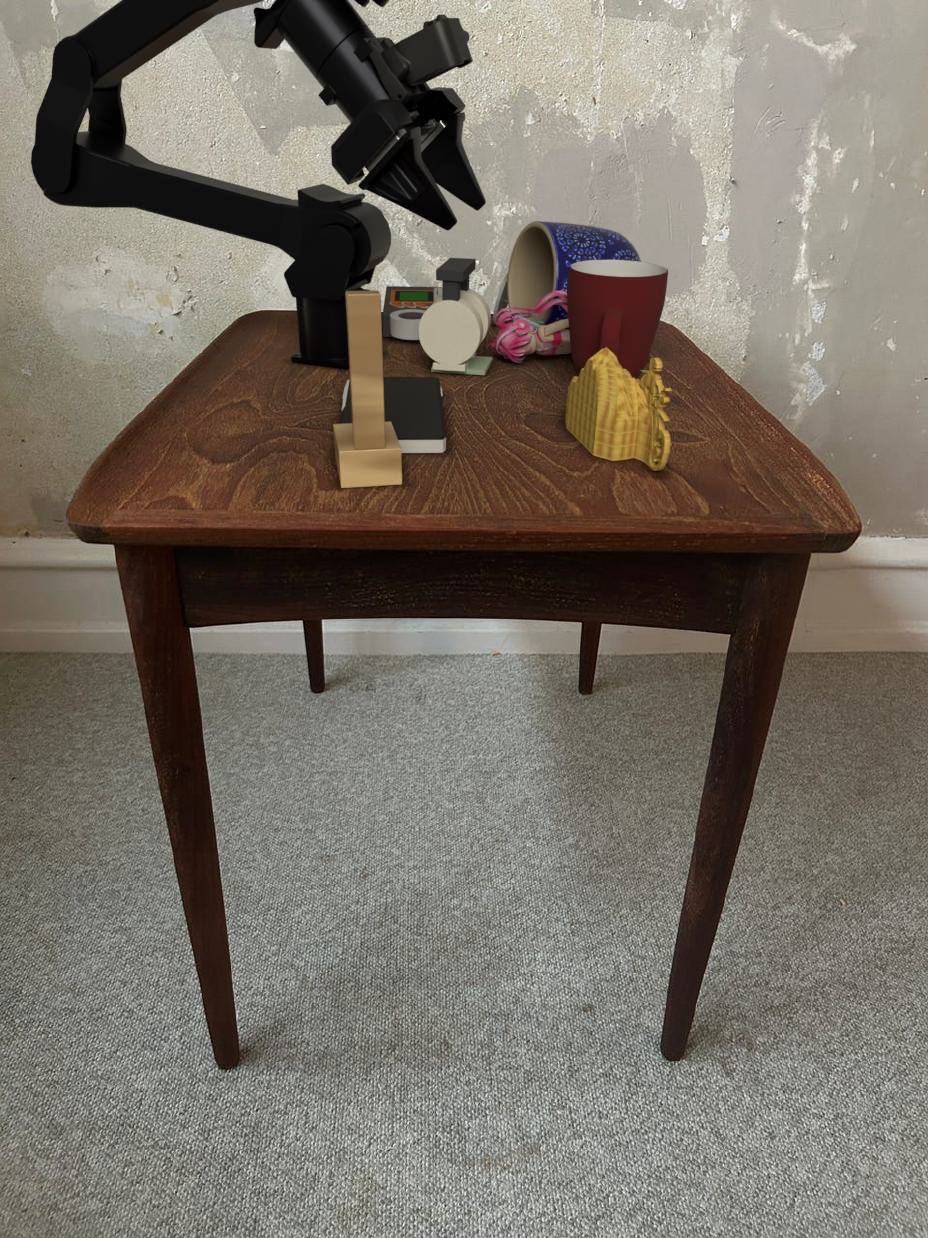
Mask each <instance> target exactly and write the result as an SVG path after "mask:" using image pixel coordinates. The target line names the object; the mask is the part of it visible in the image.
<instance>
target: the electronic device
mask: <svg viewBox="0 0 928 1238" xmlns="http://www.w3.org/2000/svg"><path fill="white" fill-rule="evenodd" d="M385 287H386V288H385V294H384V301H383V308H382V314H381V318H382V338H395V339H398V340H399V339H400V340H407V341H420V340H419V333H418V330H419V323H420V320H421V318H422V316H423V314H424V312H425V311H426V310H427V309H428V308H429V307H430V306H431V305H432V304H433V303H434V302H435V301H436V300H437V299H438V298H439V297H440V296H441V295H442V286H402V285H401V286H399V285H386V286H385Z"/></svg>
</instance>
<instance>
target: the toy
mask: <svg viewBox="0 0 928 1238" xmlns="http://www.w3.org/2000/svg"><path fill="white" fill-rule="evenodd" d="M554 296H560V297H562V298H556V299H553V300H552V301H550V302H548V303H547V304H545V305H544V306H542V305H543V304H544V303H545V302H546V301H548V300H549V299H550V298H552V297H554ZM565 296H566V297H567V292H565V291H561V290H560V291H553V292H551V293H549V294H547V295H546V296H545V297H543V298H542V299H541V300H540V301H539V302H538V304H537V305H536V306H535V307H534V308H519V307H511V308H509V307H507V308H505V309H502V310H500V311H499V312H498V313H497V314H496V317H497V316H498V315H499V314H500V313H501V312H503V311H506V310H507V311H509V310H511V309H519V310H525V311H528V312H515V311H514V312H505V313H503V314H502V315H500V317H499V319H498V324H497V323H496V317H495V323H496V325H495V326H496V327H498V328H499V329H498V333H497V336H496V338H493V340H492V341H491V342H490V343H488V345H487V347H486V349H488V350H491V351H493V352H495V353H498V354H500V355H501V356H503V357H504V359H505V360H510V361H511V362H514V363H517V364H521V363H522V362H524V361H525V360H526V357H527V356H528V355H532V354H534V353H536V354H538V355H540V356H556V355H568V354H571V345H570V333H569V330H567V329H565V328H567V327H569V322H568V319H564V320H560V321H557V322H554V323H552V324H549V325H539V324H542V323H543V322H540V321H538V322H537V323H535V322H533V321H531V320H529V319H527V318H528V317H535V316H538V315H539V314H541V313H542V312H544V311H545V310H546V309H548V308H549V307H551V306H552V305H554V304H555V305H561V306H562V307H563V308H564V309H565V310H566V311H567V313H568V310H567V305H566V304H567V299H566V297H565ZM565 303H566V304H565ZM512 319H516V320H515V321H514V322H513V321H512ZM507 321H508V322H507ZM530 325H531V326H530ZM532 327H534V328H532ZM522 356H523V357H522Z"/></svg>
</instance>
